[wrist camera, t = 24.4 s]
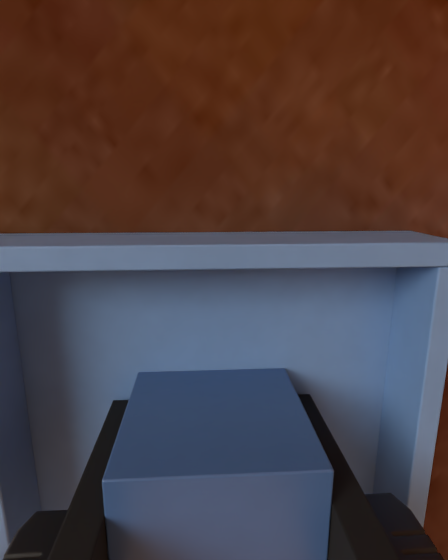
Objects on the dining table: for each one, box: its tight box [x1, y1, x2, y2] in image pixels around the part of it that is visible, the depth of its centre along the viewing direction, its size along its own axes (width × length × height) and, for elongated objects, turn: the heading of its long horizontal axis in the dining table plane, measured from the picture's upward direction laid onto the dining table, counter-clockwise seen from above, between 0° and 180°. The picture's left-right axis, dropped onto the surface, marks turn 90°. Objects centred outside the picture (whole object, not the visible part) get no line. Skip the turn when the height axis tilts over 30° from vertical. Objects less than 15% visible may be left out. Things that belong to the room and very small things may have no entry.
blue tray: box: [0, 231, 448, 560], centre depth 12 cm, size 12×12×2 cm
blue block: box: [102, 368, 334, 560], centre depth 10 cm, size 4×4×4 cm
